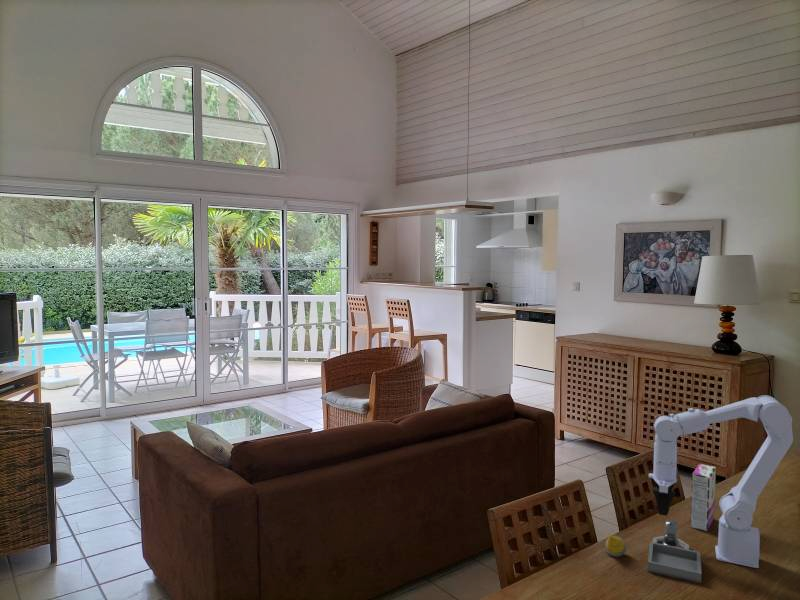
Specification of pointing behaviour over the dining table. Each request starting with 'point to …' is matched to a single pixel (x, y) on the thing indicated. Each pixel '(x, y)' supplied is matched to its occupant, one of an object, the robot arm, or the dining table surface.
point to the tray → (674, 562)
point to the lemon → (615, 546)
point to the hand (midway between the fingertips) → (663, 509)
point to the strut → (671, 533)
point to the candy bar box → (703, 497)
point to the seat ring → (680, 542)
